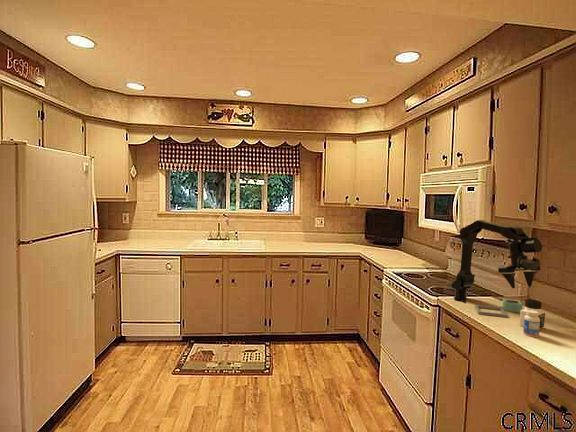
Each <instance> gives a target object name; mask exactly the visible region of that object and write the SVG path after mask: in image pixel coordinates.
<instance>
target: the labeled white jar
mask: <svg viewBox="0 0 576 432" xmlns="http://www.w3.org/2000/svg"><path fill="white" fill-rule="evenodd" d="M542 305H543V302H542V301H541V300H539V299H536V298H526V299H525V301H524V308H522V310H521V311H520V313H519V326H520V327H523V328H524V317H525V316H526V315H527V310H533V311H537V312H538V316H537V317H539V318H540V327H539V331H540V330H541V329H543V328H545V323H546V322H545V319H546V311H544V310H542Z"/></svg>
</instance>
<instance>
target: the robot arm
mask: <svg viewBox="0 0 576 432" xmlns="http://www.w3.org/2000/svg"><path fill="white" fill-rule="evenodd" d="M483 230H485V231H488V232H493V233H496V234H499V235H501V236H502V237H504V238H505V239H506V240H505V242H504V243H503V245H508V249H509V255H508V256H507V258H508V259H510V263H511V264H509V265H507V266H506V265H505V266H498V268H497V271H498V274H499V273H500V275H502V276H503V277H504V278H505V280H506V281H507V283H508V284H509V286H510V287H511V289H515V288H516V283H515V275H516V274H517V273H516V272H517V271H518V272H519V271H523V272H522V273H523V275H524V278H525V281H526V284H527V286H528V287H529V288H531V287H532V285H533V281H534V277H535V275H536V274H537V273H539V271H541V264H540V263H541V262H540V259H539V258H537V257H534V258H532V259H531V258H528V255H525V254H530V253H531V254H532V253H540V252H542V250H543V244H542V242H541V240H540V239H539V238H538V236H534V237H529V235H528V234H526V233H525V232H524V230H523V228H522V227H520V226H514V225H512V226H511V225H502V224H498V223H494V222H489V221H486V220H484V219H479V220H478V219H477V220H475V221H473V222H471V224H468V225H465V226H464V227H461V228H460V229H459V239H460V241H461V243H462V245H461V247H462V248H461V257H460V258H461V260H460V269H459V271H458V272H457V274H456V277H455V280H454V281H453V282H451V284H450V285H451V288H452V289H454V290H455V291H454V295H453V300H454V301H460V302H461V301H462V302H466V300H467V295H468V294H467V293H468V290H469V289H471V287H472V286H473V284H474V283H475V274H473V273H472V260H473V259H472V258H473V257H472V256H473V248H474V247H473V246H474V243H475V242H476V240H477V237H478V234H480V233H481V232H482V231H483Z"/></svg>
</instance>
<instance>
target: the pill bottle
mask: <svg viewBox="0 0 576 432" xmlns="http://www.w3.org/2000/svg"><path fill="white" fill-rule="evenodd" d="M537 316H538V312H537V311H533V310H527V315H526V316H525V317H524V327H523V331H522V332H523V333H522V334H524V335H525V336H528V337H532V338H537V337H539V335H540V330H539V327H540V318H539V317H537Z"/></svg>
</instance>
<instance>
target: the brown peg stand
mask: <svg viewBox="0 0 576 432" xmlns="http://www.w3.org/2000/svg"><path fill="white" fill-rule="evenodd" d="M515 300H516V299H509V303H518V301H515ZM502 306H503V305H501V306H500V307H501V308H503V307H502ZM503 310H504V311H505V309H504V308H503ZM505 312H506V311H505ZM508 312H510V313H511V312H512V313H514V312H513V311H508ZM517 313H519V314H520V312H517Z"/></svg>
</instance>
